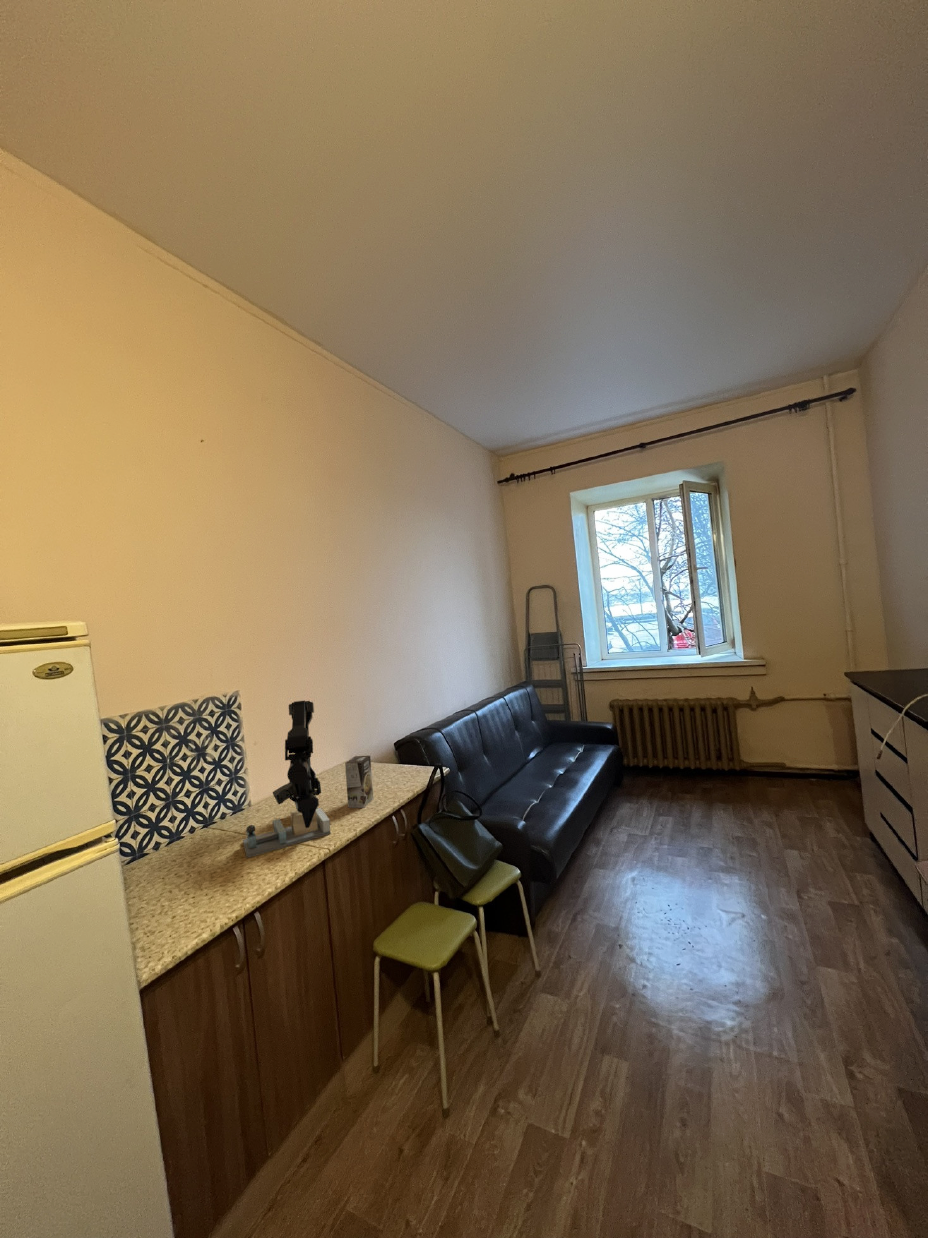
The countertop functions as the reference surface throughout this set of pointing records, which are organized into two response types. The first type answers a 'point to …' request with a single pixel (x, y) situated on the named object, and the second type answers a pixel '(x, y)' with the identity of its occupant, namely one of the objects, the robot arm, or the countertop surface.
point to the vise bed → (290, 837)
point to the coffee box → (359, 781)
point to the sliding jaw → (278, 833)
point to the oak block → (302, 823)
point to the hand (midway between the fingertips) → (304, 822)
